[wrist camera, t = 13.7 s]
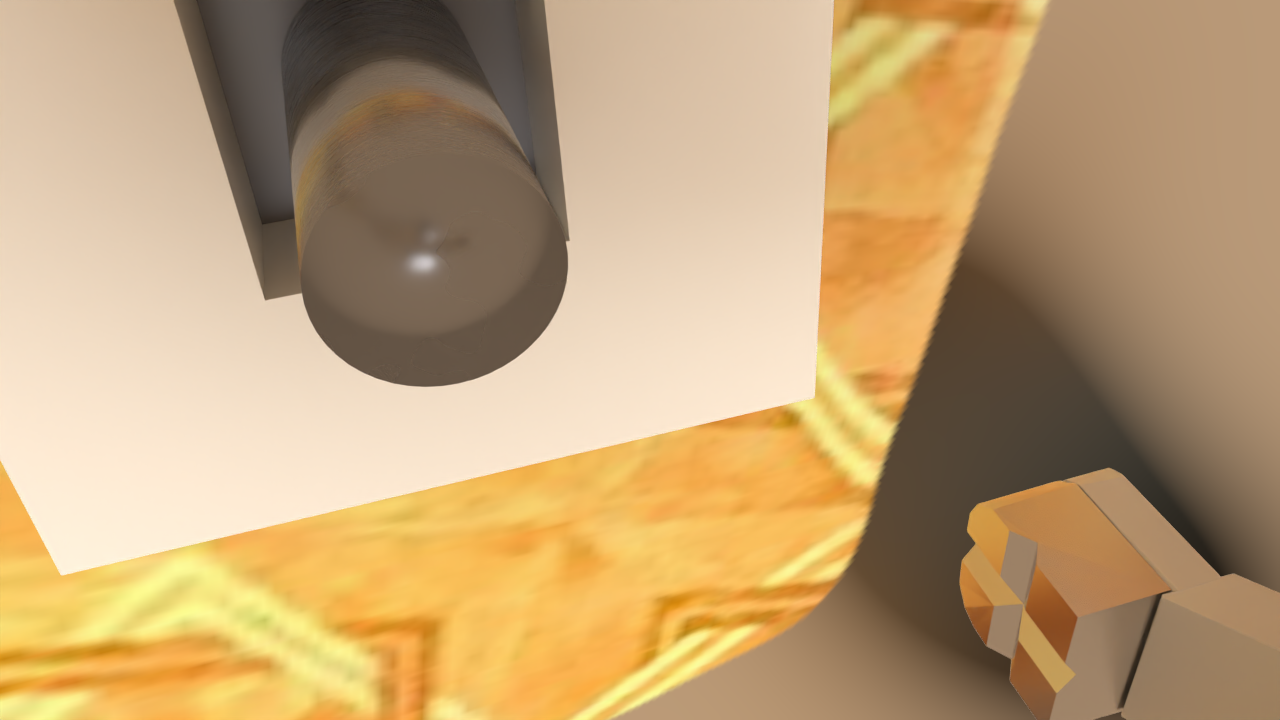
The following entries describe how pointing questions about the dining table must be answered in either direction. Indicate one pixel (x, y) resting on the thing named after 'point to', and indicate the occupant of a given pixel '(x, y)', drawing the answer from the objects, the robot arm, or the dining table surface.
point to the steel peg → (412, 197)
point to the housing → (270, 278)
